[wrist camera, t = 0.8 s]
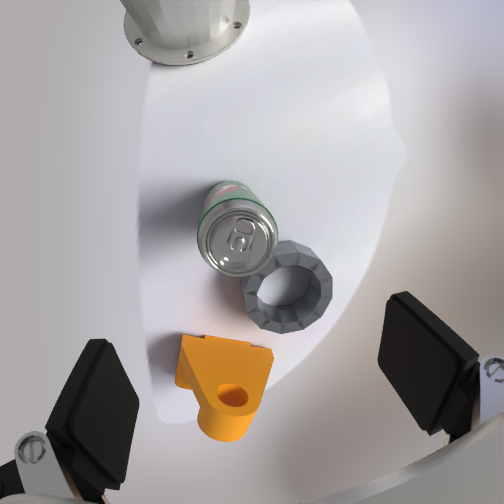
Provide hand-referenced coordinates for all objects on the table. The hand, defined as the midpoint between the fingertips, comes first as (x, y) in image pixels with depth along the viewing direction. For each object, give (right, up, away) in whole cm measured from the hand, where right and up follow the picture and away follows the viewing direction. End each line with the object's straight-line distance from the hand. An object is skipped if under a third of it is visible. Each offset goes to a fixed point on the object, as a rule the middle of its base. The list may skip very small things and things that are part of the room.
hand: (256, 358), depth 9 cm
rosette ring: (+3, 0, +23) cm, 23 cm away
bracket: (-4, -10, +26) cm, 28 cm away
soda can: (-2, +8, +19) cm, 21 cm away
